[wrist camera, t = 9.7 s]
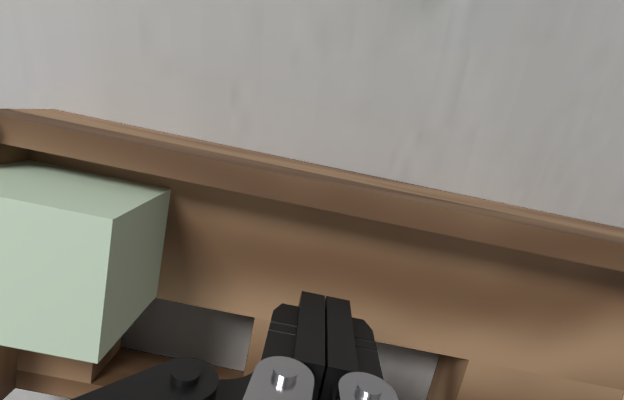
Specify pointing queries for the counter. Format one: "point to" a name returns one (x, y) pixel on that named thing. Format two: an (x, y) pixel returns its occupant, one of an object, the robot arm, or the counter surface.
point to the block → (76, 257)
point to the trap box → (351, 264)
